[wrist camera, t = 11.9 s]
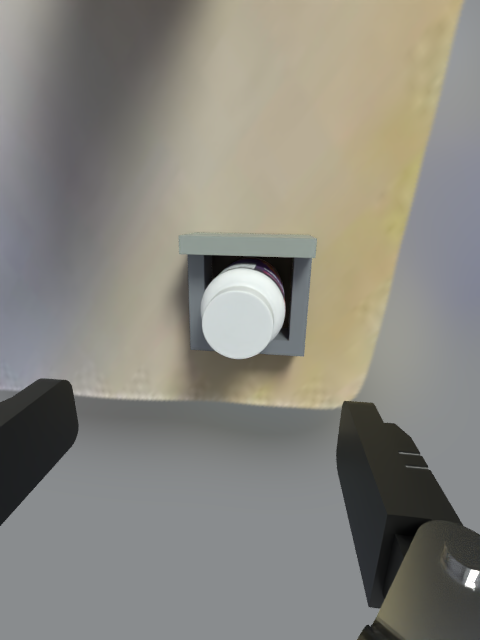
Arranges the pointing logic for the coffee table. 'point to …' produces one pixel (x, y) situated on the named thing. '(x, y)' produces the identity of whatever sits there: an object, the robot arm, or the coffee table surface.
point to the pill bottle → (243, 308)
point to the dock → (251, 245)
